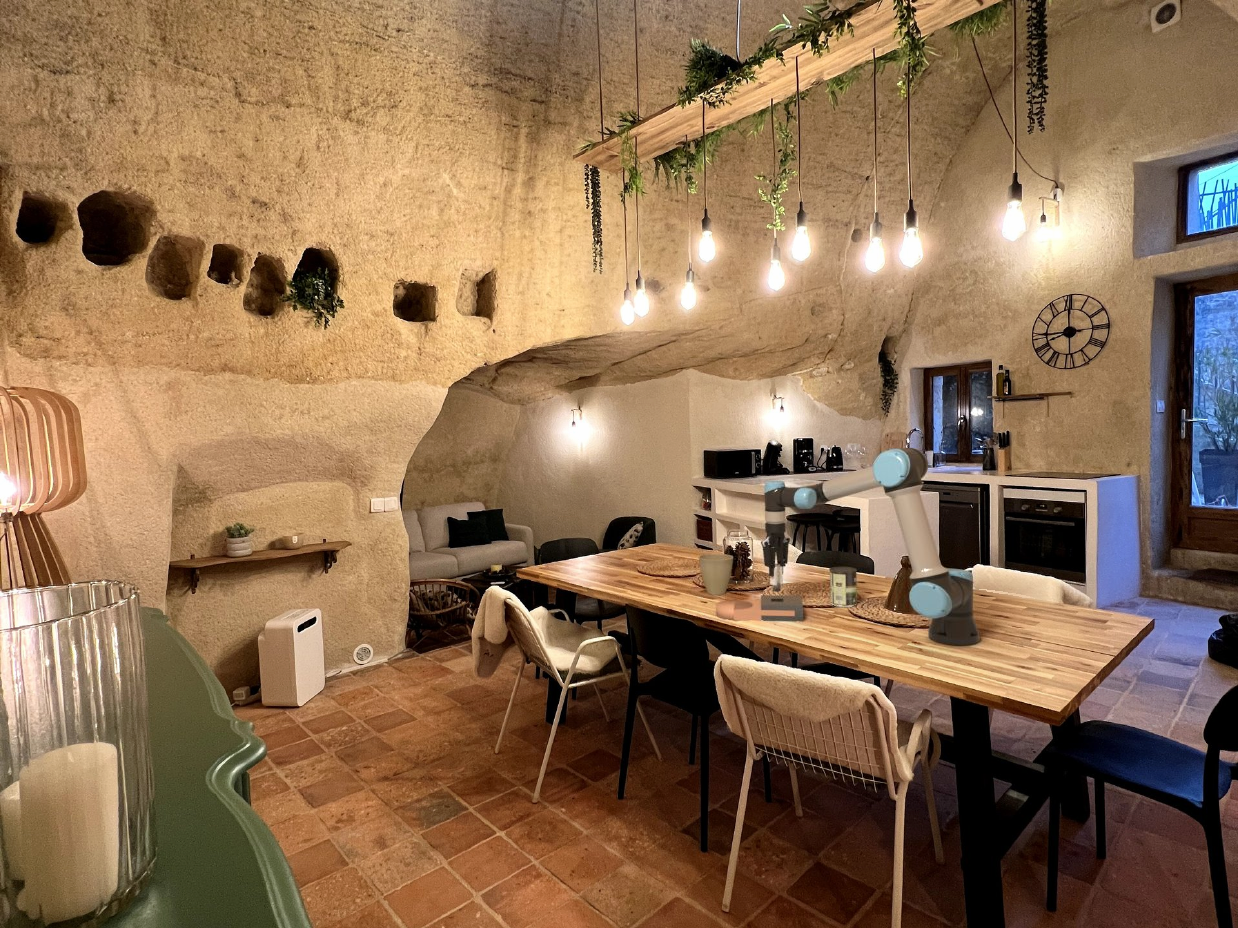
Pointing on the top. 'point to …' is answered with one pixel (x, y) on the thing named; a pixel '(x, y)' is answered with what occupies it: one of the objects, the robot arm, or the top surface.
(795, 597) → the clevis fork
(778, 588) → the steel pin
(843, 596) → the coffee can
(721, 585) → the plant pot
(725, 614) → the knuckle link
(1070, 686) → the top surface
